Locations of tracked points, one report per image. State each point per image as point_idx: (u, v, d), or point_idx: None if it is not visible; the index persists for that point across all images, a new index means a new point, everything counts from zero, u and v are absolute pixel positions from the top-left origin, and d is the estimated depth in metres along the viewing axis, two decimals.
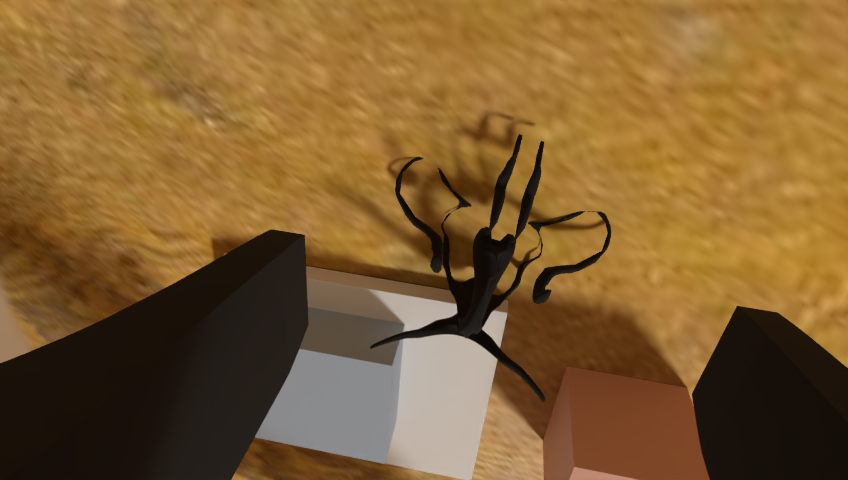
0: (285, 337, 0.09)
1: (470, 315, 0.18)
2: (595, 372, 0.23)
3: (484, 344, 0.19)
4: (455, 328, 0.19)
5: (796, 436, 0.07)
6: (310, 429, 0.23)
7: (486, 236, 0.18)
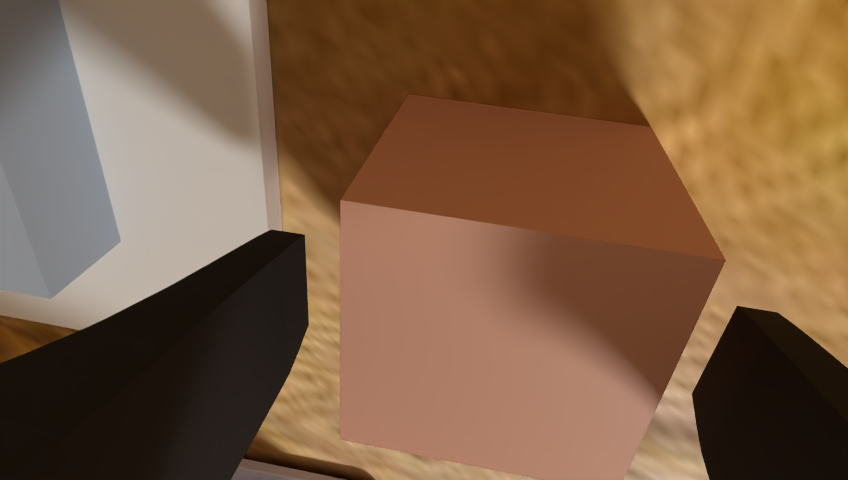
0: (285, 337, 0.09)
1: None
2: (464, 102, 0.11)
3: None
4: None
5: (796, 436, 0.07)
6: None
7: None
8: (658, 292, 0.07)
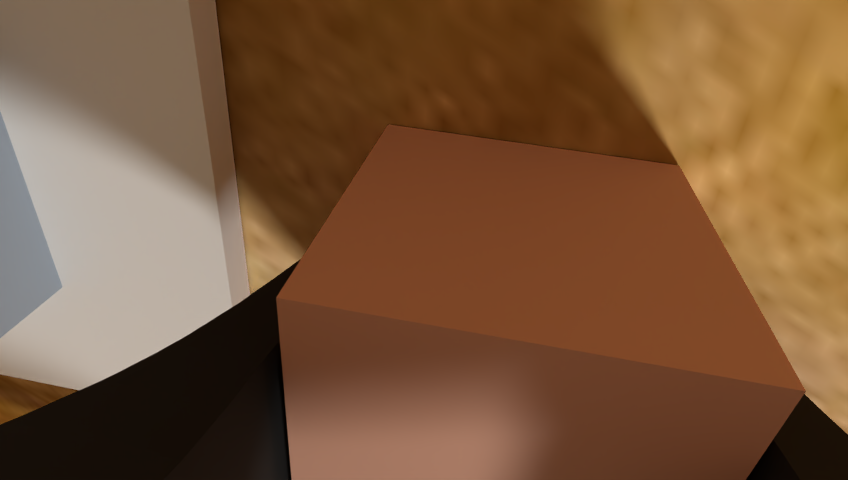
0: None
1: None
2: (454, 137, 0.09)
3: None
4: None
5: None
6: None
7: None
8: (707, 424, 0.05)
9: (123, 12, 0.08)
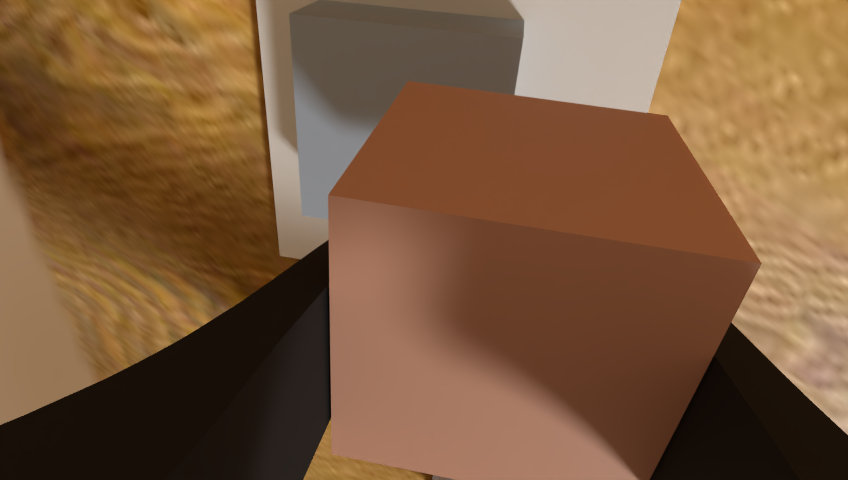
0: None
1: None
2: (467, 91, 0.10)
3: None
4: None
5: (709, 420, 0.07)
6: None
7: None
8: (683, 298, 0.06)
9: (629, 30, 0.15)
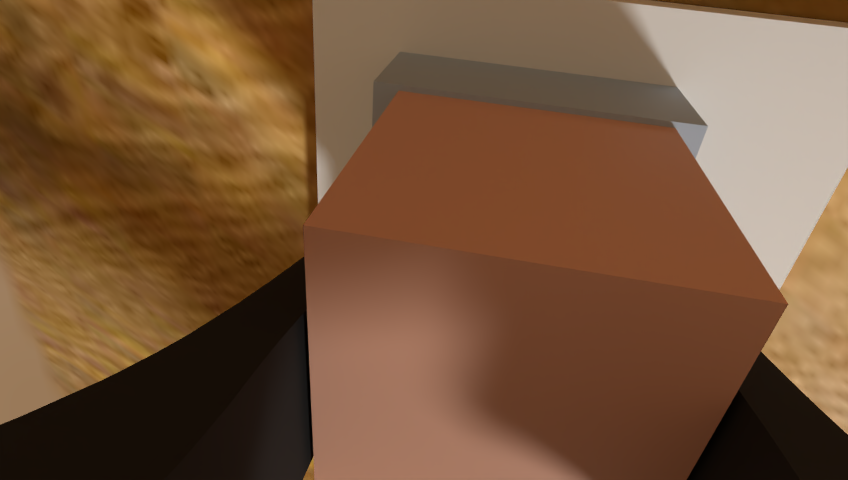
0: None
1: None
2: (461, 101, 0.10)
3: None
4: None
5: None
6: None
7: None
8: (699, 340, 0.06)
9: (820, 103, 0.11)
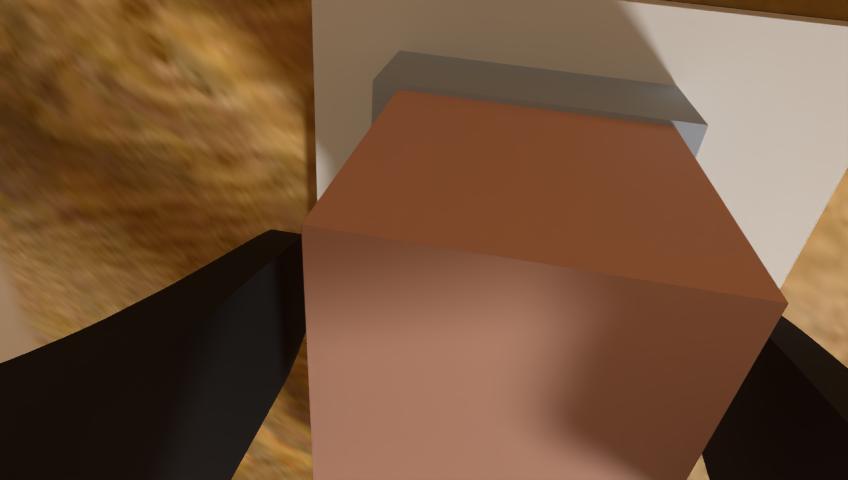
0: (285, 337, 0.09)
1: None
2: (461, 100, 0.10)
3: None
4: None
5: (796, 436, 0.07)
6: None
7: None
8: (699, 340, 0.06)
9: (821, 102, 0.11)
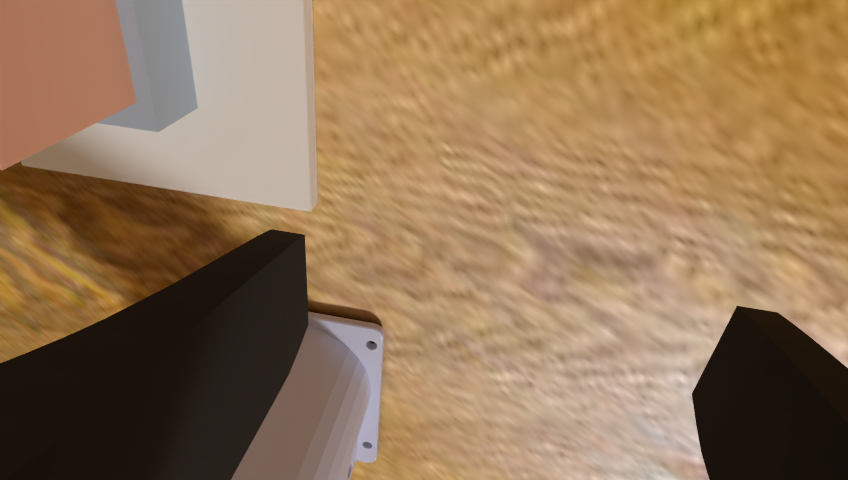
0: (285, 337, 0.09)
1: None
2: None
3: None
4: None
5: (796, 436, 0.07)
6: None
7: None
8: None
9: None
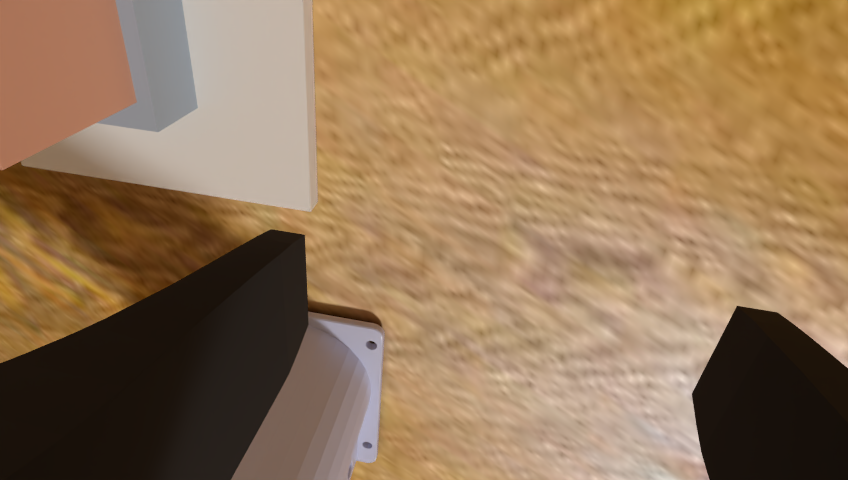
0: (285, 337, 0.09)
1: None
2: None
3: None
4: None
5: (796, 436, 0.07)
6: None
7: None
8: None
9: None
